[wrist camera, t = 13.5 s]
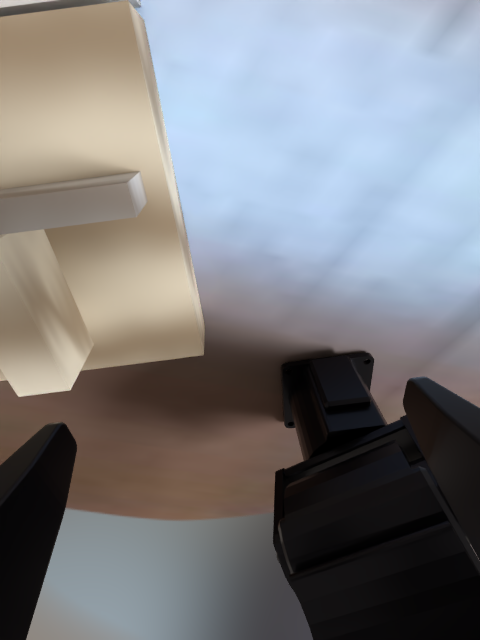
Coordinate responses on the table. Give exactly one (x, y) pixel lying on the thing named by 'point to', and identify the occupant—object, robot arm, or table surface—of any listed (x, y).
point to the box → (49, 5)
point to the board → (102, 174)
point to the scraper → (50, 276)
